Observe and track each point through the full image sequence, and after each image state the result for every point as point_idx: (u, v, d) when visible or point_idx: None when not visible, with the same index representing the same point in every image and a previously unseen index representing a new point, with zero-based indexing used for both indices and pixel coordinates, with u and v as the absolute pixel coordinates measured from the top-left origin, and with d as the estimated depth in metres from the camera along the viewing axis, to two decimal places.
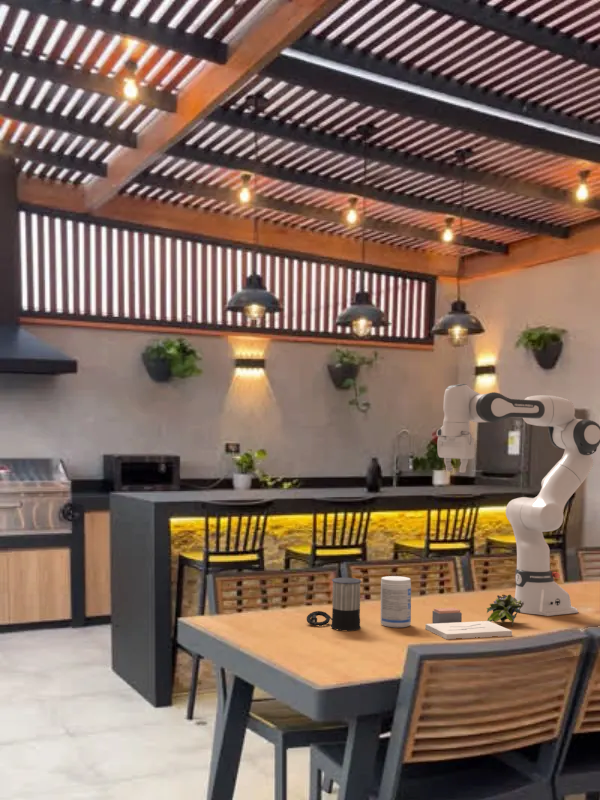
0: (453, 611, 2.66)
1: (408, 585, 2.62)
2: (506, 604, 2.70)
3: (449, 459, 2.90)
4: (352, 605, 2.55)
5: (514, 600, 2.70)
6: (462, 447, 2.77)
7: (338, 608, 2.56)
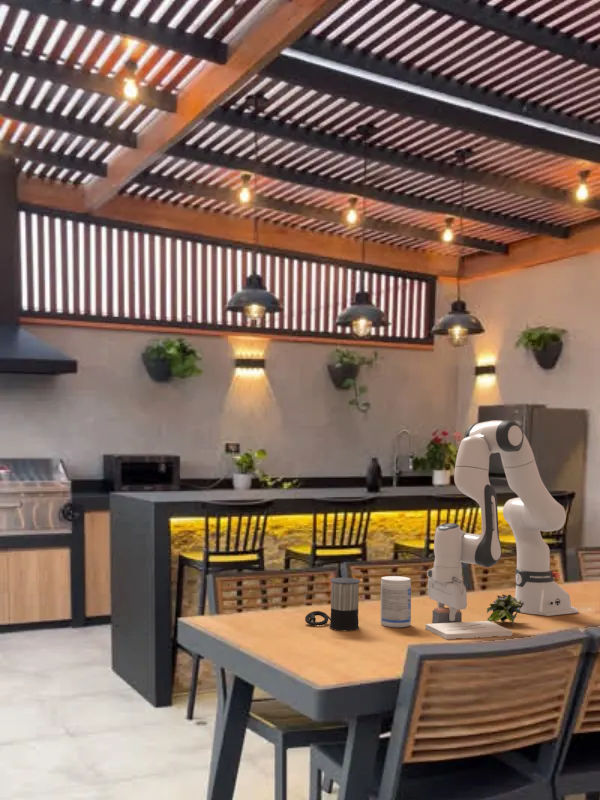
0: None
1: (408, 585, 2.62)
2: (506, 604, 2.70)
3: None
4: (350, 605, 2.55)
5: (514, 600, 2.70)
6: (454, 596, 2.60)
7: (337, 608, 2.56)
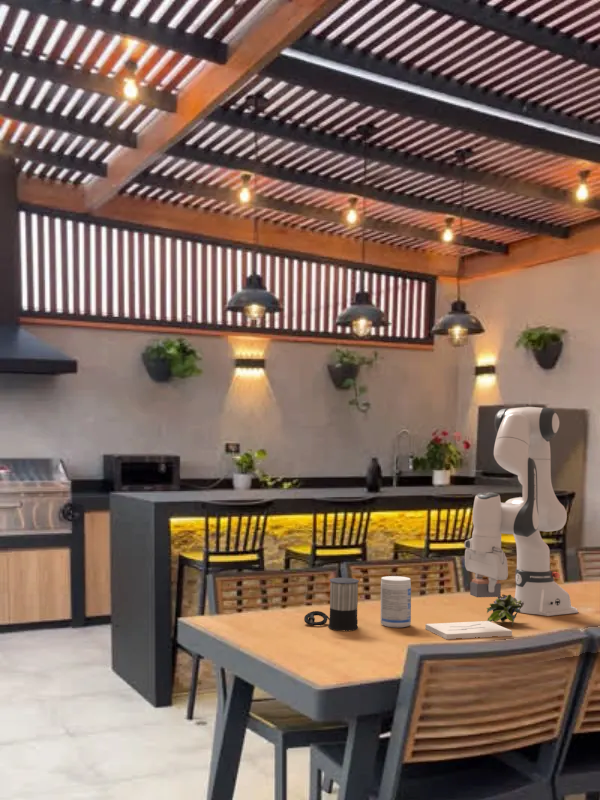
0: None
1: (408, 585, 2.62)
2: (506, 604, 2.70)
3: (481, 575, 2.62)
4: (349, 605, 2.55)
5: (514, 600, 2.70)
6: (494, 566, 2.51)
7: (335, 608, 2.56)
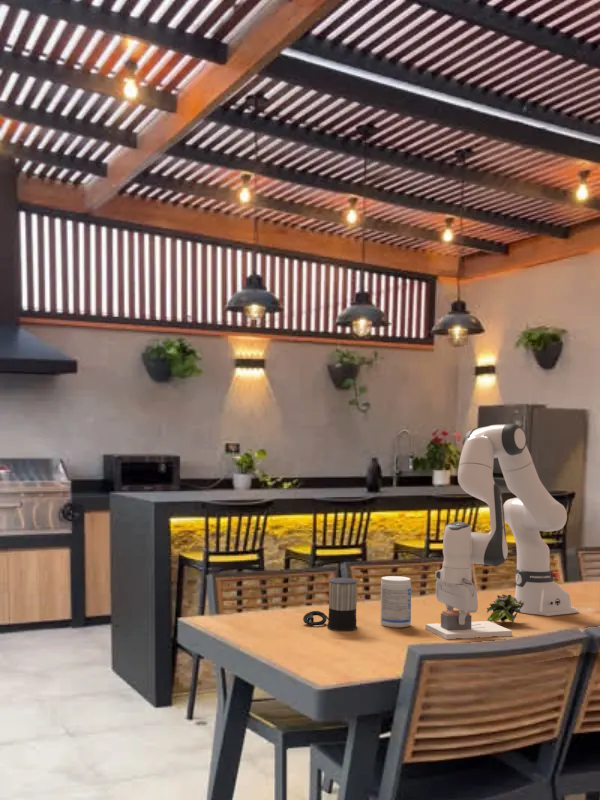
0: None
1: (408, 585, 2.62)
2: (506, 604, 2.70)
3: (452, 606, 2.59)
4: (348, 605, 2.55)
5: (514, 600, 2.70)
6: (464, 599, 2.48)
7: (334, 608, 2.56)
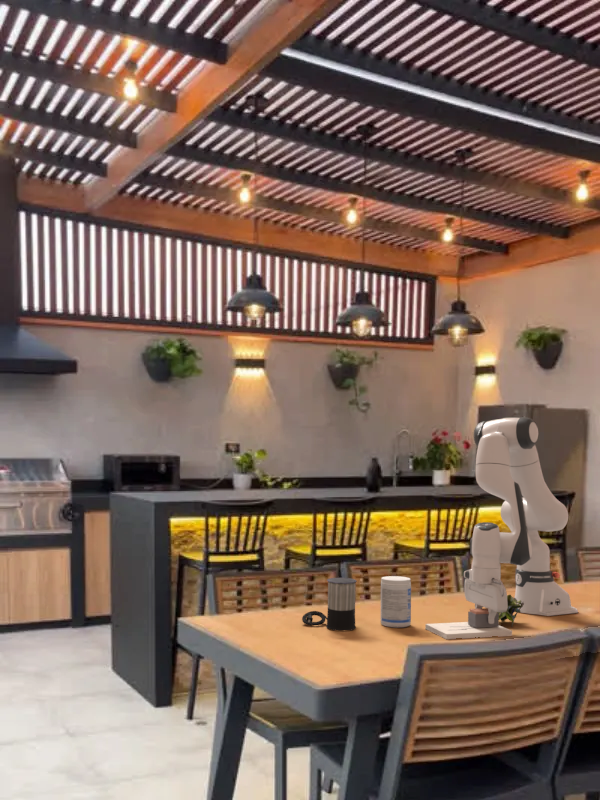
0: None
1: (408, 585, 2.62)
2: None
3: (481, 605, 2.62)
4: (347, 605, 2.55)
5: (514, 600, 2.70)
6: (494, 598, 2.51)
7: (333, 608, 2.55)
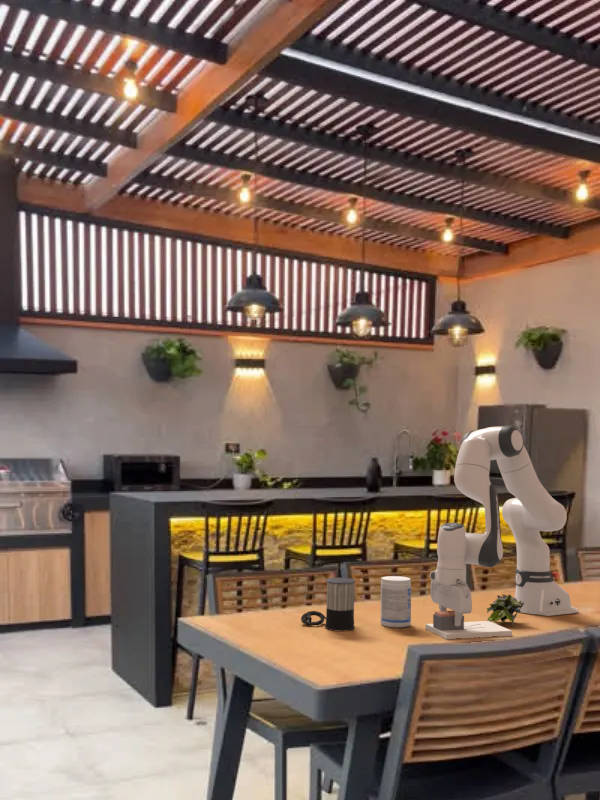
0: None
1: (408, 585, 2.62)
2: (506, 604, 2.70)
3: None
4: (346, 605, 2.55)
5: (514, 600, 2.70)
6: (458, 600, 2.47)
7: (332, 608, 2.55)
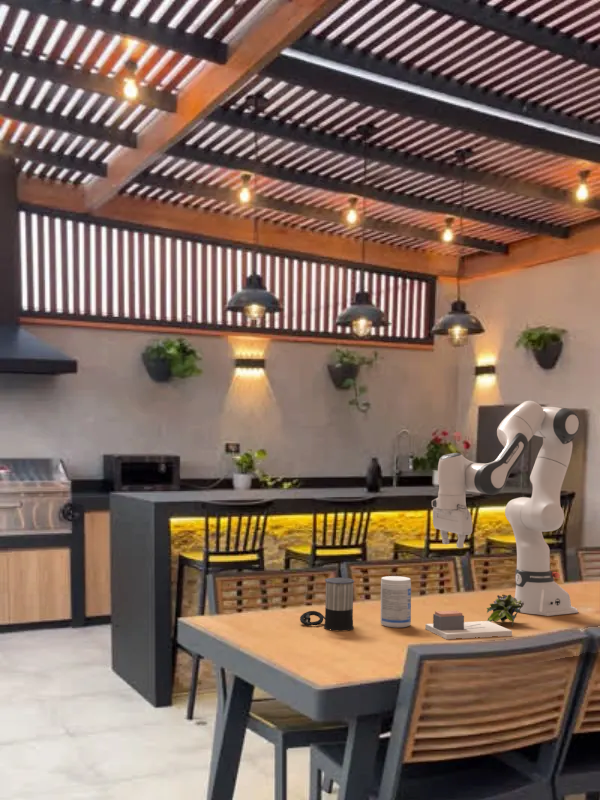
0: (455, 614, 2.53)
1: (408, 585, 2.62)
2: (506, 604, 2.70)
3: (445, 531, 2.78)
4: (344, 605, 2.55)
5: (514, 600, 2.70)
6: (459, 522, 2.65)
7: (331, 608, 2.55)
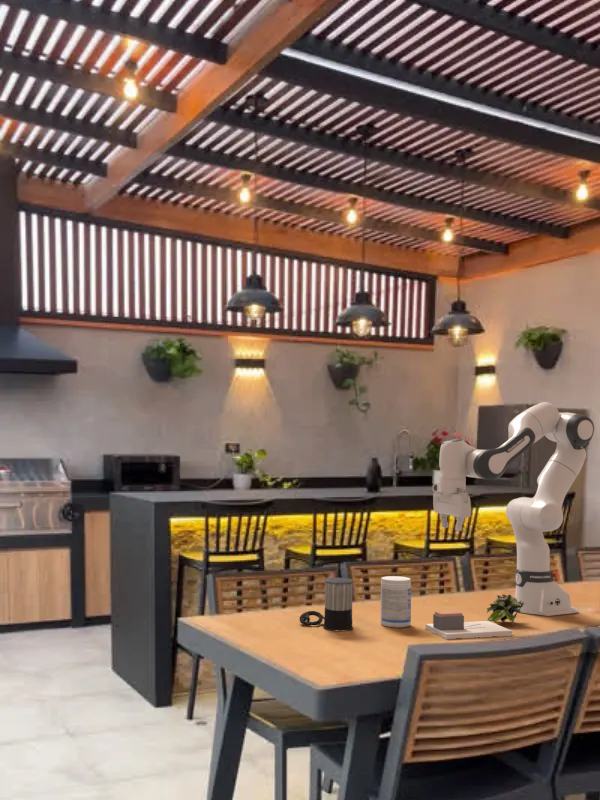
0: (455, 614, 2.53)
1: (408, 585, 2.62)
2: (506, 604, 2.70)
3: (445, 515, 2.85)
4: (344, 605, 2.55)
5: (514, 600, 2.70)
6: (458, 505, 2.72)
7: (330, 608, 2.55)
